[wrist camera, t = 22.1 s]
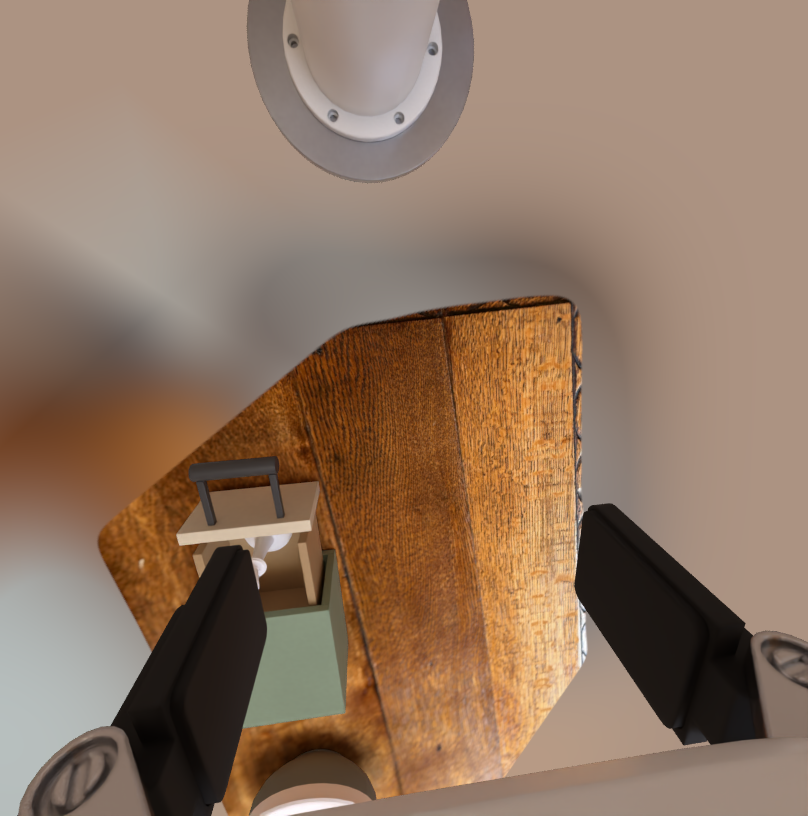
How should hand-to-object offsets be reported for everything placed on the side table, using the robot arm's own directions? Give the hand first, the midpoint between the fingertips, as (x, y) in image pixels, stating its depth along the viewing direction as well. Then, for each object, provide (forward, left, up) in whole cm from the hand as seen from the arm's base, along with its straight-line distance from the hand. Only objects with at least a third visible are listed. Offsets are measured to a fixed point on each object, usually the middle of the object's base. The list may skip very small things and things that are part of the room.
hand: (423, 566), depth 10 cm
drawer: (+8, -19, -27) cm, 34 cm away
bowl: (+48, -40, -28) cm, 69 cm away
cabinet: (+20, -25, -28) cm, 43 cm away
